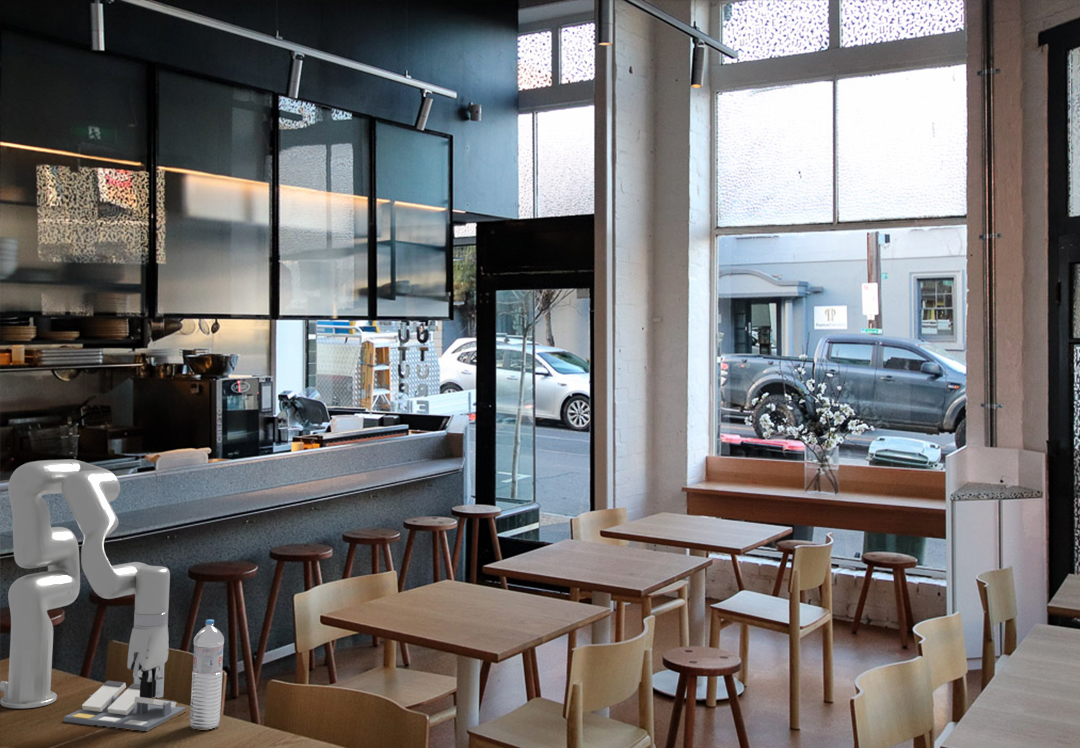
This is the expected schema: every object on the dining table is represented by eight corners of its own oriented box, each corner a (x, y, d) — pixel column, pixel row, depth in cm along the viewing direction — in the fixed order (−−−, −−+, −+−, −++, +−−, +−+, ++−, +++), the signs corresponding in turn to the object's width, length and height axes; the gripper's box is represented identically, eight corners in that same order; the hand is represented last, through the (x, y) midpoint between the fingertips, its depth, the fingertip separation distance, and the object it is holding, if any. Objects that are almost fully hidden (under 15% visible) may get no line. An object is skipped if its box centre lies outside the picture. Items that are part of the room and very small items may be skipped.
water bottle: (210, 732, 239) (215, 624, 240) (183, 729, 240) (189, 621, 241) (225, 723, 246) (230, 618, 246) (199, 721, 247) (204, 616, 248)
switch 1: (82, 709, 247) (81, 704, 246) (108, 684, 256) (107, 679, 255) (101, 711, 245) (100, 706, 245) (126, 687, 255) (125, 682, 254)
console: (64, 721, 242) (65, 704, 243) (107, 702, 258) (108, 686, 258) (146, 732, 237) (147, 714, 238) (186, 712, 253) (186, 696, 253)
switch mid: (108, 712, 245) (106, 707, 245) (132, 687, 254) (132, 682, 254) (127, 715, 244) (126, 709, 243) (151, 690, 253) (150, 684, 253)
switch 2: (133, 701, 243) (135, 695, 244) (156, 705, 252) (157, 699, 253) (153, 704, 242) (154, 697, 242) (175, 707, 251) (176, 701, 251)
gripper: (155, 612, 252) (152, 687, 252) (117, 624, 238) (113, 704, 237) (183, 614, 251) (179, 690, 250) (146, 627, 236) (142, 708, 236)
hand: (147, 697), depth 244 cm, fingers closed
